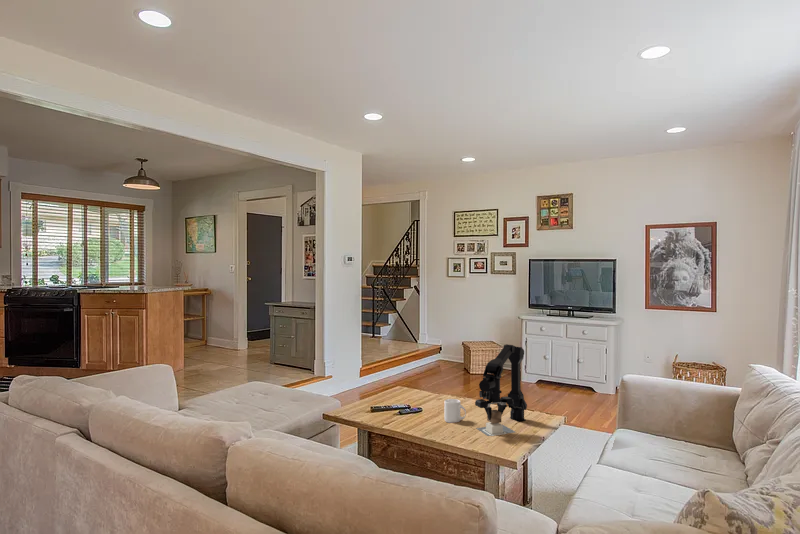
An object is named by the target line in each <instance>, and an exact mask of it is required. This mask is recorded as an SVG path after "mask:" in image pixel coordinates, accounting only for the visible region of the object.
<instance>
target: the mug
mask: <svg viewBox="0 0 800 534" xmlns="http://www.w3.org/2000/svg"><path fill="white" fill-rule="evenodd" d="M443 401H444V402H443V403H444V408H443V412H444V413H443V414H444V416H443V419H444V421H445V422H446V423H449V424H453V423H460V422H461V421H462V420H464V419H465V417H466V414H467V411H466V408H465V407H464V406H463V405H462V404H461V400H459V399H457V398H447V399H445V400H443ZM461 409H462V410H463V411H464V415H463V416H462V415H461Z"/></svg>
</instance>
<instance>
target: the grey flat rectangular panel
mask: <svg viewBox="0 0 800 534" xmlns="http://www.w3.org/2000/svg"><path fill="white" fill-rule="evenodd" d="M502 425H503V433H500V434H493V435H492V434H490V433H489V432H487V431H486V426H482V427H477V428H475V429H476V430H478V431H479V432H481V433H482V434H483V435H485V436H487V437H493V436H500V435H507V434H513V433H516V431H514V430H513V429H511V428H510V427H508V426H506V425H505V424H502Z"/></svg>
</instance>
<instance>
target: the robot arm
mask: <svg viewBox="0 0 800 534" xmlns="http://www.w3.org/2000/svg"><path fill="white" fill-rule="evenodd" d="M524 355H525V350H524V349H523V347H522V346H515V345H513V344H507V343H506V344H504V345H503V348H502V349H501V351H500V352H499V353H498V354H497V356H496V357H495V358H494V359H491V360H489V361H488V363H486V365H485V367H484V371H483V375H482V380H481V381H479V384H478V387H479V389H480V390H479V392H478V393H479V398H480V399H479V398H478V399H476V400H475V402H474V403H475V404H474V405H475V406H476V407H478V408H480V409H484V411H485V412H486V417H487V416H488V419H489V420H491V411H492V410H493V408H492V407H491V405H497V410H498V411H500V412H501V417H502V416H503V413H504V412H505V410H506V408H508V409H510V417H509V419H510V420H512V421H514V422H516V423H518V422H524V421H527V419H526V418H525V411H527V410H528V409H527V407H528V404H527V402H526V400H525V395H524V393H523V392H522V389H521V363H522V361H523V360H524ZM508 360H509V362H510V365H511V366H510V370H511V371H510V374H511V375H510V376H511V377H510V378H511V379H510V380H511V381H510V382H511V384H510V387H511V390H510V391H509V393H507V396H501V394H502V390H501V379H502V376H503V375H502V373H503V371H504V364H505V363H506V362H507V361H508Z"/></svg>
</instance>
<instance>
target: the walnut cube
mask: <svg viewBox="0 0 800 534" xmlns="http://www.w3.org/2000/svg"><path fill="white" fill-rule="evenodd" d="M486 417H487V418H486V420H487V422H491V423H492V424H493V423H500V424H502V416H501V412H500V411H498V409H492V411H491V420H489V419H488V416H487V415H486Z"/></svg>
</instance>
